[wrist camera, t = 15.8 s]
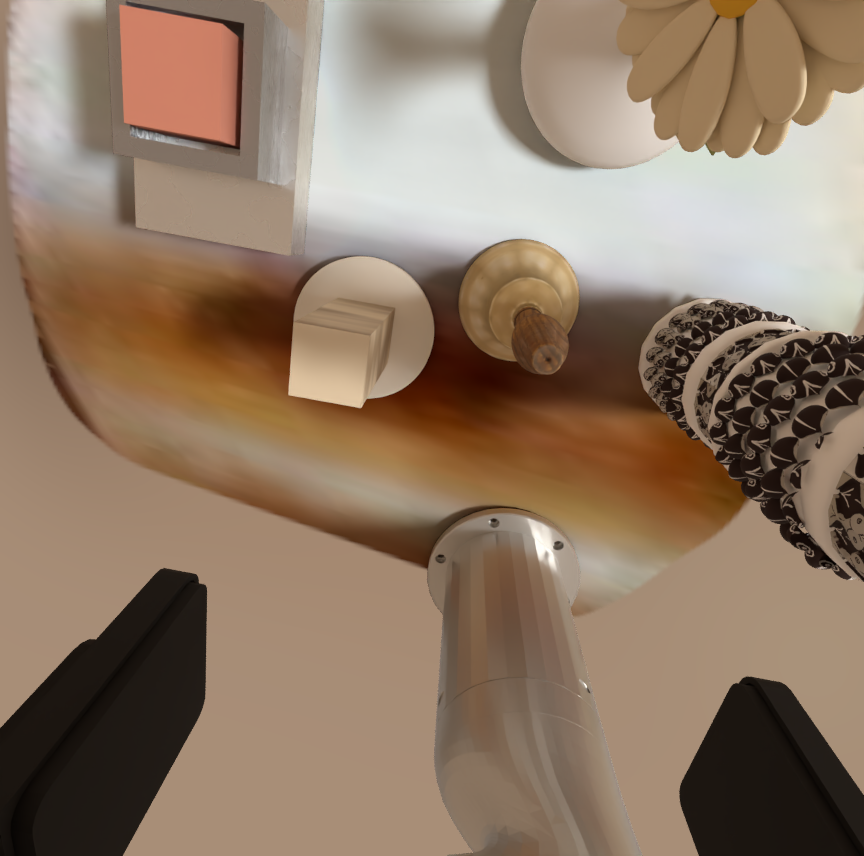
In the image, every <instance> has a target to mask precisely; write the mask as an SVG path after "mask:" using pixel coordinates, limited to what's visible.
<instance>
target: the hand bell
mask: <svg viewBox="0 0 864 856" xmlns="http://www.w3.org/2000/svg"><path fill="white" fill-rule="evenodd" d="M579 298H580V297H579V286H578V282H577V278H576V276H575V273H574V271H573V269H572V267H571V266H570V264H569V263H568V262H567V260H566V259H565V258H564V257H563V256H562V255H561V254H560V253H559V252H557V251H556V250H555V249H553V248H552V247H550V246H548V245H546V244H544V243H540V242H538V241H534V240H526V239H519V240H510V241H506V242H503V243H500V244H498V245H495V246H493V247H492V248H490V249H488V250H487V251H485V252H484V253H483V254H482V255H480V256H479V257H478V258H477V259H476V260H475V261H474V263H473V264H472V265H471V266H470V268H469V269H468V271H467V273H466V275H465V277H464V279H463V281H462V284H461V288H460V292H459V315H460V319H461V322H462V325H463V328H464V330H465V332H466V334H467V335H468V337H469V338H470V339H471V341H472V342H473V343H474V344H475V345H476V346H477V347H478V348H479V349H481V350H482V351H483V352H485V353H487V354H488V355H491V356H493V357H495V358H497V359H501V360H506V361H517V362H518V363H519V364H520V365H521V366H522V367H523V368H524V369H526V370H527V371H529V372H532V373H535V374H545V375H547V374H552V373H555V372H556V371H557V370H558V369H559V368H560V367H561V365H562V364H563V362H564V361H565V359H566V357H567V354H568V349H569V342H568V336H567V334H568V333H569V331H570V330H571V328H572V326H573V324H574V322H575V319H576V317H577V313H578V308H579Z"/></svg>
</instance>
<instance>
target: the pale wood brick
mask: <svg viewBox="0 0 864 856" xmlns="http://www.w3.org/2000/svg"><path fill="white" fill-rule="evenodd" d="M394 315H395V308H394V307H388V306H383V305H377V304H372V303H366V302H360V301H355V300H349V299H344V298H337V299H335V300H333V301H331V302H329V303H328V304H326V305H324V306H322V307H320V308H318V309H317V310H315V311H313V312H311V313H309V314H307V315H305V316H304V317H302V318H300V319H298V320H296V321H294V322H293V337H292V351H291V365H290V380H289V394H288V395H291V396H297V397H302V398H308V399H313V400H319V401H324V402H330V403H335V404H341V405H346V406H352V407H358V408H361V407H362V406H363V404H364V402H365V401H366V399H367V397H368V396H369V394H370V392H371V391H372V389H373V387H374V386H375V384H376V382H377V380H378V379H379V377H380V375H381V374H382V372H383V370H384V369H385V367H386V365H387V364H388V358H389V350H390V343H391V336H392V329H393V322H394Z"/></svg>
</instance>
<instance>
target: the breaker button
mask: <svg viewBox="0 0 864 856" xmlns="http://www.w3.org/2000/svg"><path fill="white" fill-rule="evenodd" d="M119 10H120V35H121V60H122V85H123V110H124V123H126V124H130V125H133V126H136V127H140V128H143V129H146V130H149V131H153V132H156V133H159V134H163V135H166V136H169V137H175V138H180V139H185V140H191V141H196V142H201V143H207V144H212V145H218V146H223V147H228V148H234V149H239V150H240V140H241V109H242V78H243V48H244V41H243V40H242V39H240V38H239V37H238V36H237V35H235V34H234V33H233V32H232V31H231V30H229V29H228V28H227V27H226V26H225V25H223V24H221V23H216V22H211V21H205V20H200V19H194V18H189V17H184V16H178V15H173V14H167V13H162V12H157V11H151V10H146V9H141V8H135V7H130V6H124V5H119Z"/></svg>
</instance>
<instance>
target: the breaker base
mask: <svg viewBox="0 0 864 856" xmlns="http://www.w3.org/2000/svg"><path fill="white" fill-rule="evenodd" d="M119 5H124V6H130V7H135V8H141V9H146V10H151V11H157V12H162V13H167V14H173V15H178V16H184V17H189V18H194V19H200V20H205V21H211V22H216V23H221V24H223V25H225V26H226V27H227V28H228V29H229V30H231V31H232V32H233V33H234V34H235V35H237V36H238V37H239V38H240V39H242V40H243V41H244V48H243V78H242V109H241V140H240V150H239V149H234V148H228V147H223V146H218V145H212V144H207V143H201V142H196V141H191V140H185V139H180V138H175V137H169V136H166V135H163V134H159V133H156V132H153V131H149V130H146V129H143V128H140V127H136V126H133V125H130V124H126V123H124V110H123V85H122V60H121V35H120V10H119ZM323 7H324V0H106V10H107V31H108V53H109V74H110V95H111V116H112V137H113V153H114V154H119V155H124V156H129V157H133V158H134V185H135V214H136V227H137V228H143V229H148V230H154V231H159V232H164V233H170V234H175V235H181V236H186V237H191V238H197V239H202V240H207V241H213V242H218V243H224V244H229V245H234V246H240V247H245V248H251V249H256V250H261V251H267V252H272V253H278V254H283V255H288V256H293V255H299V254H304V251H305V238H306V225H307V213H308V200H309V187H310V174H311V161H312V148H313V136H314V123H315V110H316V97H317V84H318V71H319V59H320V46H321V33H322V20H323Z"/></svg>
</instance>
